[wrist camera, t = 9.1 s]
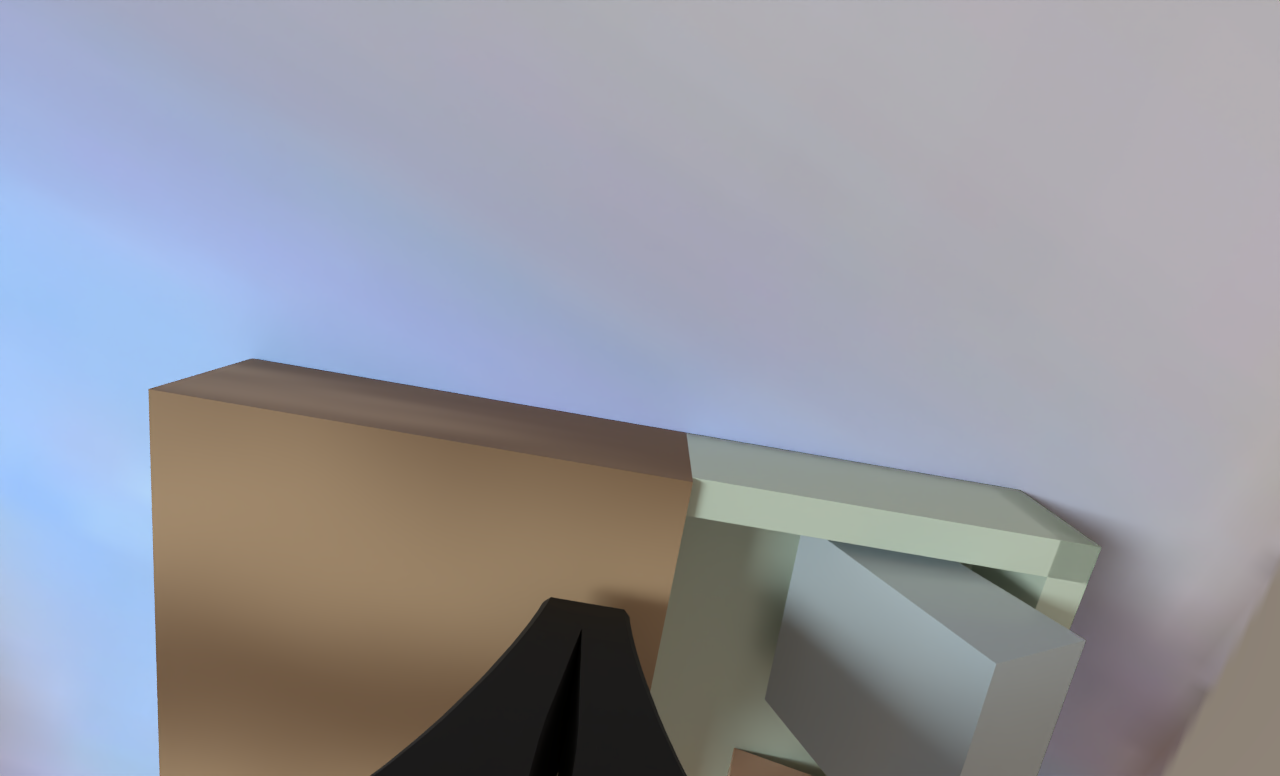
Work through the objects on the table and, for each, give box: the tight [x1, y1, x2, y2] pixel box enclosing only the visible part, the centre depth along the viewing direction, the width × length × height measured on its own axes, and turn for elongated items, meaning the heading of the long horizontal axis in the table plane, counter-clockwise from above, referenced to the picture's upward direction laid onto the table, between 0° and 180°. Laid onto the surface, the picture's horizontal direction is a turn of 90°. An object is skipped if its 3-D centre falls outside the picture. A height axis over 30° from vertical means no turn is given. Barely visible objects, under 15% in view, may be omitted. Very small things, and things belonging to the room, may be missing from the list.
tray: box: [650, 433, 1102, 776], centre depth 13 cm, size 12×7×2 cm, turn 170°
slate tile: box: [765, 535, 1086, 776], centre depth 11 cm, size 4×4×2 cm
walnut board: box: [149, 359, 693, 776], centre depth 13 cm, size 12×9×3 cm
